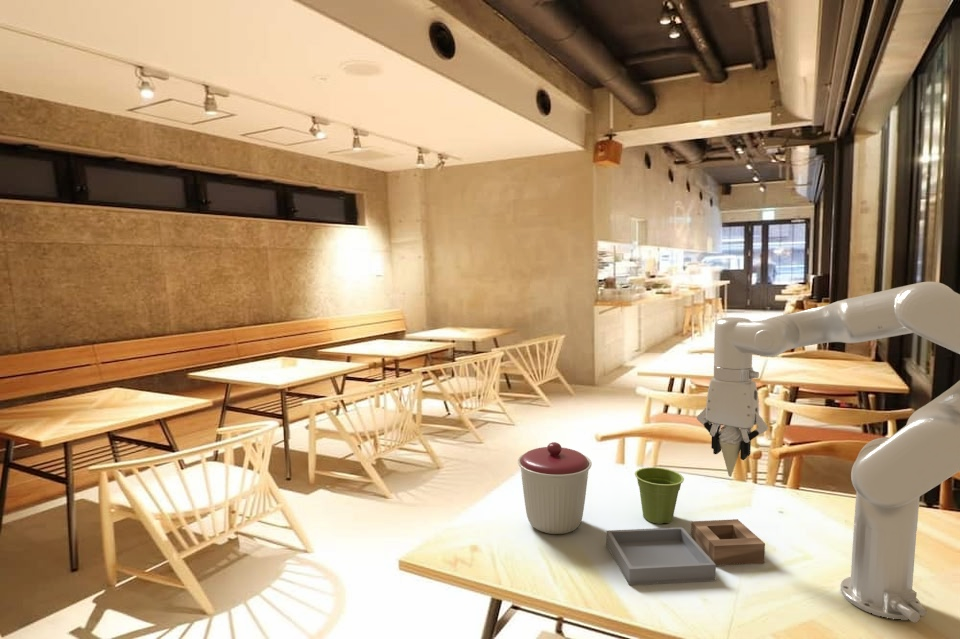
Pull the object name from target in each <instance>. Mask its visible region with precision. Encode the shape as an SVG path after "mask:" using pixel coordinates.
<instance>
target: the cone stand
mask: <svg viewBox="0 0 960 639" xmlns="http://www.w3.org/2000/svg"><path fill="white" fill-rule="evenodd" d="M690 523H691V524H690V525H691V527H690V536H691V537H692V538H693V540H694V541H695V542H696V543H697V544H698V545H699V546H700V547H701V549H702V550H703V551H704V552H705V553H706V554H707V555H708V556H709V558H710V559H711V560H712V561H713V562H714V563H715V564H716V567H718V566H734V565H736V566H738V565H755V564H765V553H766V552H765V551H766V543H765V542H764V541H763V540H762V539H761V538H759V537H758V535H756V534H755V533H754V532H753V531H752V530H750V529H749V528H748V527H747V526H746V525H745V524H744V523H742V522H741V521H740V520H739V518H738V519H737V518H736V519H734V518H733V519H717V520H716V519H715V520H713V519H712V520H695V521H694V520H693V521H692V520H691V522H690Z"/></svg>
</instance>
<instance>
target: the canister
mask: <svg viewBox="0 0 960 639" xmlns="http://www.w3.org/2000/svg"><path fill="white" fill-rule="evenodd" d="M517 464H518V466H519V468H520V474H521V482H522V491H523V499H524V506H525V512H526V517H527V520H528V522H529V523H530V525H531V526H532V527H533V528H534V529H536V530H537V531H539V532H542V533H545V534H549V535H551V534H552V535H562V534H570V533H572V531H575V530H576V529H578V527H579V526H580V524H581V523H582V520H583V516H584V515H583V514H584V509H585V502H586V495H587V487H588V486H587V485H588V479H589V470H590V469H591V467H592V461H591V459H590V458H589V457H588V456H586V455H585V454H583V453H581V452H580V451H577V450H574V449H571V448H567V447H562V445H561V444H560V443H559V442H550V443H548V445H547V446H543V447H537V448H534V449H530V450H528V451H527V452H525V453H523V454H521V455H520V456H519V457H518V458H517Z"/></svg>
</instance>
